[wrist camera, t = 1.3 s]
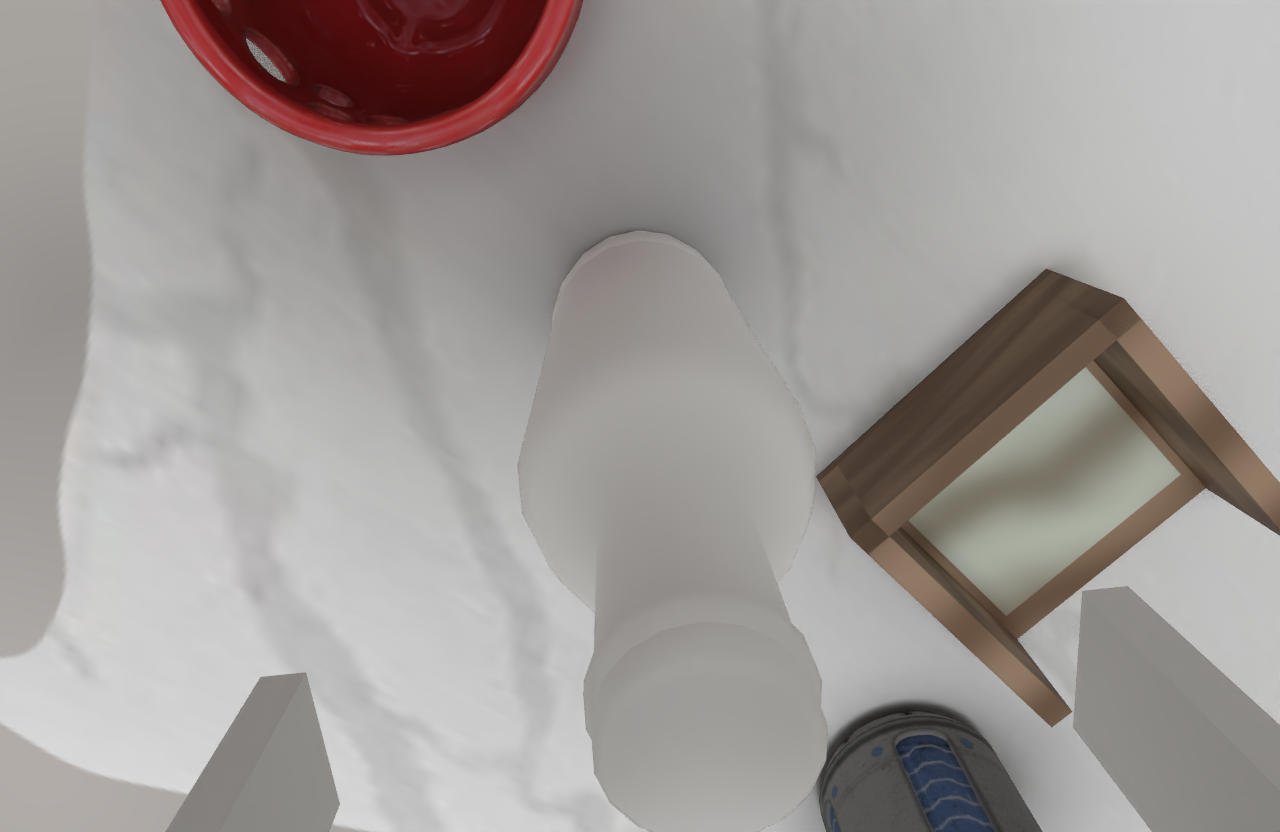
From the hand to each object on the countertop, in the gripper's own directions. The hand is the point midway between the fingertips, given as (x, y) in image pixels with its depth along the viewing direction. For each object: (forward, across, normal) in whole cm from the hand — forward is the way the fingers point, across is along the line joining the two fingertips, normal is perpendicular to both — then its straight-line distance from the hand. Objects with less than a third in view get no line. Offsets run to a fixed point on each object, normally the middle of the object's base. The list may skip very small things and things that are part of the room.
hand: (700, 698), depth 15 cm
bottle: (+28, 0, 0) cm, 28 cm away
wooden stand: (+28, +18, -10) cm, 35 cm away
